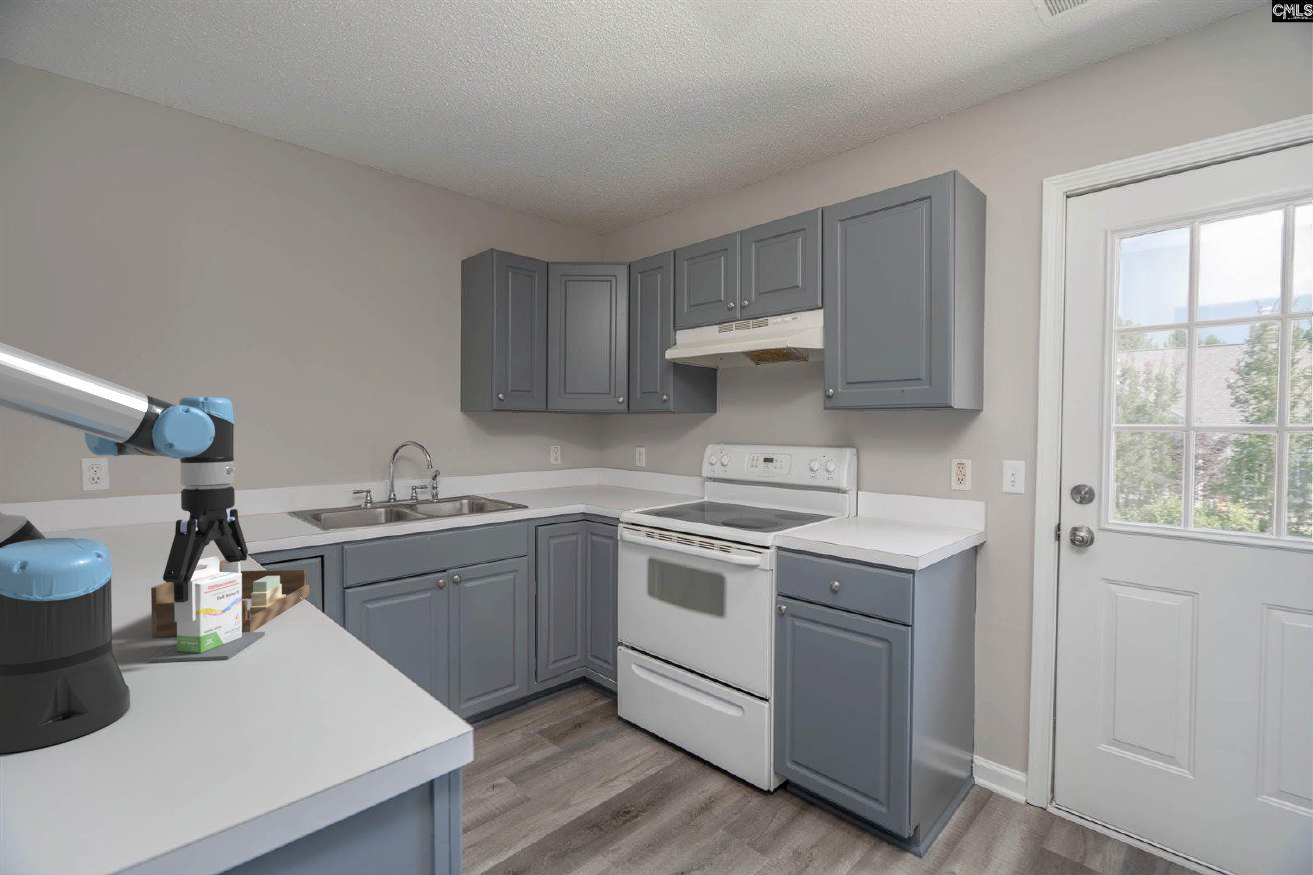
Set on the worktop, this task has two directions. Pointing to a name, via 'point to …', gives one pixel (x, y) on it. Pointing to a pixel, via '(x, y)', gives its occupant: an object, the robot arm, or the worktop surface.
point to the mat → (213, 654)
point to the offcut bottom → (263, 606)
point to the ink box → (212, 609)
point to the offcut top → (266, 583)
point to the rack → (291, 587)
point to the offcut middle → (266, 596)
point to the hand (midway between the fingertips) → (210, 608)
